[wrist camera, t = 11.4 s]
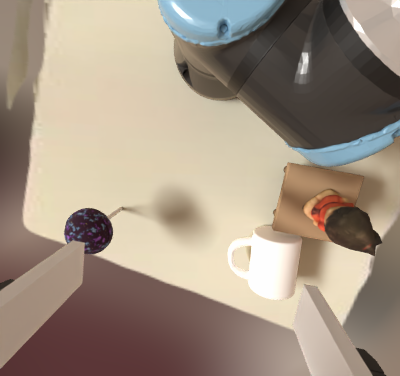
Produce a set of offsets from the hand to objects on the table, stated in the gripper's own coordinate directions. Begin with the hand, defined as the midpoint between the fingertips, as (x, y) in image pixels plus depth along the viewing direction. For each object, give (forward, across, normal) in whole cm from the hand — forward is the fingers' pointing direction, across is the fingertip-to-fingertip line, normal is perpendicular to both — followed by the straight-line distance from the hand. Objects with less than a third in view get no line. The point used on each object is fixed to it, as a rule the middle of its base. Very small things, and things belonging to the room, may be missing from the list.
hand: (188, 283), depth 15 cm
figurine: (+26, +18, +1) cm, 31 cm away
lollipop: (+32, -16, -8) cm, 37 cm away
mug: (+32, +11, -11) cm, 36 cm away
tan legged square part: (+32, +17, +1) cm, 36 cm away
